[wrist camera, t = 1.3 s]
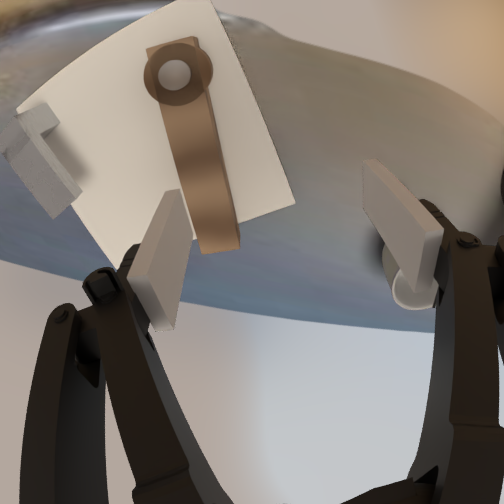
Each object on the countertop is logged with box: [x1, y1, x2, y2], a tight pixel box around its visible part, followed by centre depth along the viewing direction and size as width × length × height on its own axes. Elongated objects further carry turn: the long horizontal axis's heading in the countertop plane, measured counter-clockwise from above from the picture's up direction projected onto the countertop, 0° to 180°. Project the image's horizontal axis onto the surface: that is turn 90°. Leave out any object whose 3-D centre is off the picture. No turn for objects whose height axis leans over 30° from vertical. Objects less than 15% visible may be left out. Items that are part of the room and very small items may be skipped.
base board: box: [16, 0, 295, 269], centre depth 30 cm, size 24×24×2 cm
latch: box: [143, 36, 240, 255], centre depth 28 cm, size 21×6×4 cm, turn 10°
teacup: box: [382, 244, 439, 310], centre depth 34 cm, size 14×11×8 cm
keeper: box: [0, 102, 83, 219], centre depth 27 cm, size 4×10×7 cm, turn 30°
